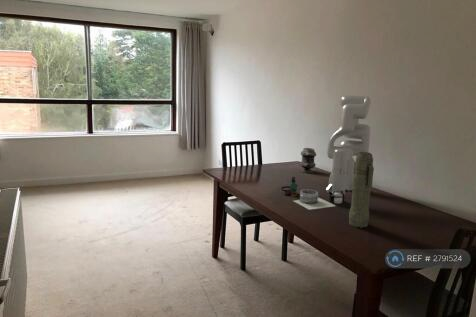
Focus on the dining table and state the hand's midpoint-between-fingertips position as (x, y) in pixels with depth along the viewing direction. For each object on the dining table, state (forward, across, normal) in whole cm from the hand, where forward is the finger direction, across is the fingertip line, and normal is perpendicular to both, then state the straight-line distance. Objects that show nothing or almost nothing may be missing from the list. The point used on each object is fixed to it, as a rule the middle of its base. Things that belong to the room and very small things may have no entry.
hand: (336, 201), depth 204 cm
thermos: (+1, +12, +31) cm, 33 cm away
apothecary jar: (+1, -28, -70) cm, 75 cm away
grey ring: (0, +15, -6) cm, 16 cm away
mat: (+1, +14, -2) cm, 14 cm away
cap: (+1, 0, 0) cm, 1 cm away
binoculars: (+1, +18, -22) cm, 28 cm away
